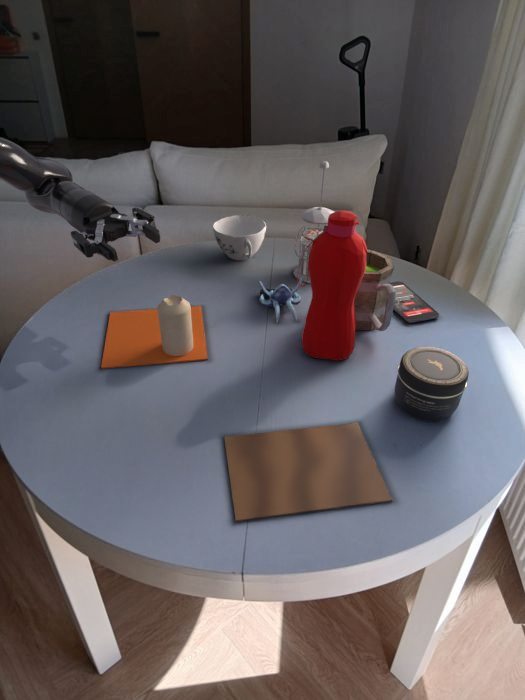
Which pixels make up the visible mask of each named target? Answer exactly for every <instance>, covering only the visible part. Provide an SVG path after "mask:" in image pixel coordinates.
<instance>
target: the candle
mask: <svg viewBox="0 0 525 700" xmlns="http://www.w3.org/2000/svg"><path fill="white" fill-rule="evenodd" d="M190 307H191V303H190V302H189V301H188V300H186V299H185V298H183V297H182V296H178V295H177V294H171V295H170V296H169V297H165V298H164V299H162V301H160V302H159V303H158V305H157V308H156V309H158V317H159V325H160V333H161V341H162V348H163V351H164V352H165V353H166V354H168V355H171V356H182V355H185V354H188V353H189V352H191V350H192V349H193V333H192V320H191V308H190Z"/></svg>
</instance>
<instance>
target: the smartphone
mask: <svg viewBox="0 0 525 700" xmlns="http://www.w3.org/2000/svg"><path fill="white" fill-rule="evenodd" d="M390 285H392V286H393V287H394V289H395V291H396V302H395V305H394V309H393V311H395V312H396V313H397V314H398V315H400V317H402V318H403V320H404V321H405V322H407V323H410V324H412V323H416V322H423V321H428V320H434V319H438V318H440V317H439V316H440V313H439V312H438V311H437V310H435V309H434V308H433V307H432V306H431V305H430V304H429V303H427V302H426V301H425V300H424V299H422V297H420V296H419V295H418V294H417V293H416V292H415V291H413V290H412V289H411V288H410V287H409V286H408V285H406V284H405V283H404V282H403V281H392V282H391V281H390ZM387 303H388V299H387V302H386V304H387Z"/></svg>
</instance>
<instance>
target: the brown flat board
mask: <svg viewBox="0 0 525 700" xmlns="http://www.w3.org/2000/svg"><path fill="white" fill-rule="evenodd" d="M223 441H224V447H225V454H226V455H225V456H226V461H227V469H228V477H229V484H230V491H231V498H232V499H231V500H232V506H233V513H234V519H235V522H244V521H245V522H246V521H251V520H259V519H266V518H274V517H282V516H283V517H284V516H290V515H297V514H306V513H313V512H321V511H327V510H336V509H344V508H351V507H358V506H367V505H373V504H381V503H389V502H393V498H392V496H391V493H390V491H389V489H388V486H387V484H386V482H385V480H384V478H383V475H382V474H381V471H380V469H379V467H378V465H377V462H376V460H375V458H374V456H373V453H372V451H371V449H370V447H369V444H368V443H367V441H366V438H365V436H364V434H363V431H362V429H361V427H360V425H359V422H352V423H351V422H350V423H341V424H340V423H339V424H332V425H322V426H321V425H320V426H312V427H302V428H295V429H286V430H275V431H274V430H273V431H266V432H257V433H247V434H238V435H229V436H224V437H223Z"/></svg>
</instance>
